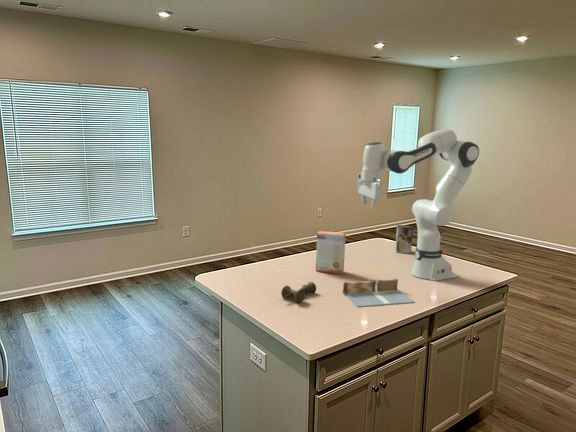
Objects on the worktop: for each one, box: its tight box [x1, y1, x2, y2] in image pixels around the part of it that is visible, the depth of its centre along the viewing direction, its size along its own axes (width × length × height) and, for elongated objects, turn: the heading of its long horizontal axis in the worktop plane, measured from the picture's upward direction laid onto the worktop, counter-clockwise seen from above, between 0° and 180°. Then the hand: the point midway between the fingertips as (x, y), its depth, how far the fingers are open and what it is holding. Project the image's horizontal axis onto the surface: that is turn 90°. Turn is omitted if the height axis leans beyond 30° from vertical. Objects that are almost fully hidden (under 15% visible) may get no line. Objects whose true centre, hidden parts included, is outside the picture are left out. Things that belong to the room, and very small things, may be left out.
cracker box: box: [315, 230, 346, 275], centre depth 228 cm, size 14×6×21 cm, turn 71°
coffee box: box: [394, 224, 414, 254], centre depth 269 cm, size 9×6×16 cm
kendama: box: [281, 281, 317, 304], centre depth 193 cm, size 6×10×20 cm
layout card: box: [341, 278, 416, 308], centre depth 196 cm, size 27×18×6 cm, turn 104°
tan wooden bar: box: [342, 279, 377, 294], centre depth 199 cm, size 16×2×5 cm, turn 104°
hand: (368, 206), depth 208 cm, fingers open, 8 cm apart
